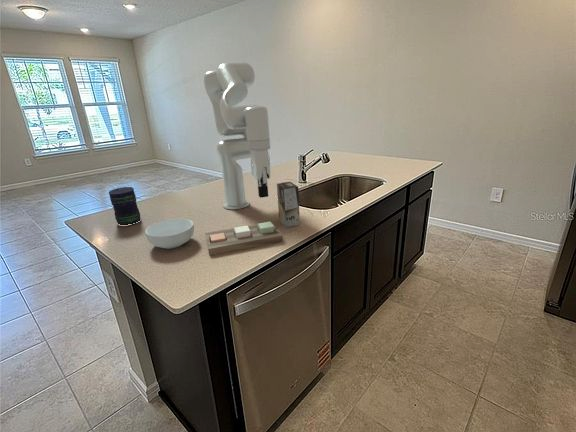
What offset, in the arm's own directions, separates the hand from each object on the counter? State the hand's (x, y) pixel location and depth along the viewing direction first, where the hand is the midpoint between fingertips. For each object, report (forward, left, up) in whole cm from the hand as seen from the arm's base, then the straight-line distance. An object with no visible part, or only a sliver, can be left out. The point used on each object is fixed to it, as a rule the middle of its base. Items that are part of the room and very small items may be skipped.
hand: (263, 196), depth 112 cm
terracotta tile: (0, -18, -16) cm, 24 cm away
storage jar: (-39, -53, -16) cm, 68 cm away
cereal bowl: (-8, -34, -16) cm, 39 cm away
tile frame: (0, -9, -16) cm, 18 cm away
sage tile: (0, 0, -14) cm, 14 cm away
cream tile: (0, -9, -14) cm, 17 cm away
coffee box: (-9, +12, -16) cm, 22 cm away
